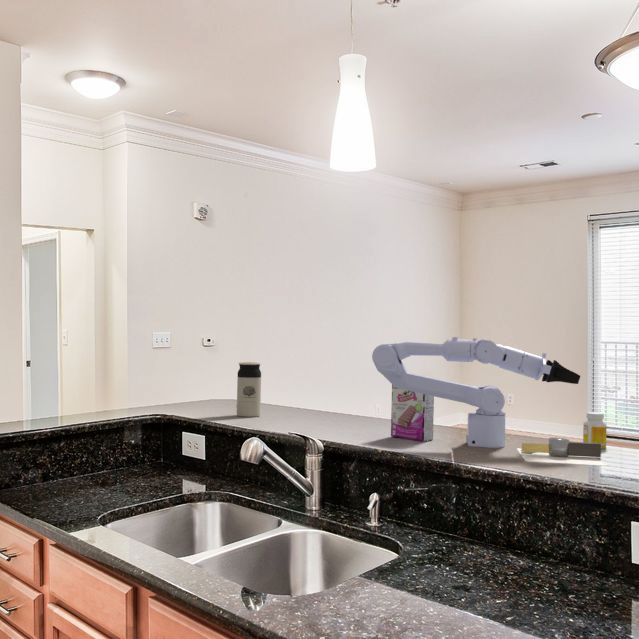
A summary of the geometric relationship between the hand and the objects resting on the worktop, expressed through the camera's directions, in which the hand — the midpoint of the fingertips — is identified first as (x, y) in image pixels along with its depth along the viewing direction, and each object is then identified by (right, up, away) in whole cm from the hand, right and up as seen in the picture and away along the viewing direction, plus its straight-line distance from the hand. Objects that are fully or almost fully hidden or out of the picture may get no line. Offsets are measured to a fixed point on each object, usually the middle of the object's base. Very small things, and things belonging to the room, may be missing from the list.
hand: (576, 379), depth 159 cm
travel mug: (-87, -18, +60) cm, 107 cm away
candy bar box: (-38, -18, +18) cm, 46 cm away
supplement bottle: (+6, -19, +4) cm, 20 cm away
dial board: (-8, -18, -10) cm, 22 cm away
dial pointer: (-8, -17, -9) cm, 21 cm away
